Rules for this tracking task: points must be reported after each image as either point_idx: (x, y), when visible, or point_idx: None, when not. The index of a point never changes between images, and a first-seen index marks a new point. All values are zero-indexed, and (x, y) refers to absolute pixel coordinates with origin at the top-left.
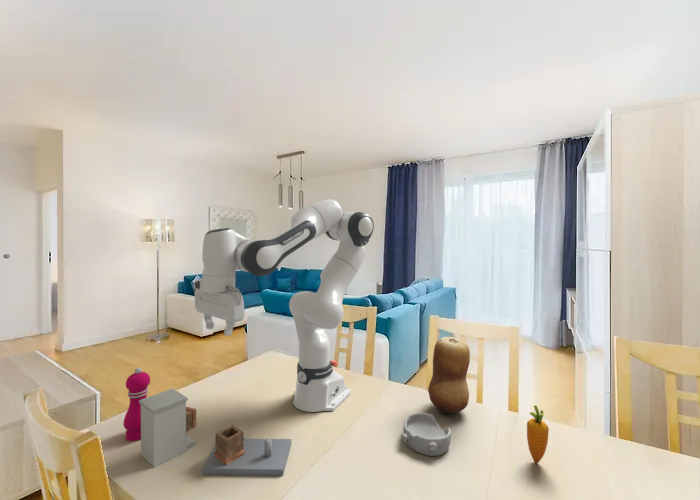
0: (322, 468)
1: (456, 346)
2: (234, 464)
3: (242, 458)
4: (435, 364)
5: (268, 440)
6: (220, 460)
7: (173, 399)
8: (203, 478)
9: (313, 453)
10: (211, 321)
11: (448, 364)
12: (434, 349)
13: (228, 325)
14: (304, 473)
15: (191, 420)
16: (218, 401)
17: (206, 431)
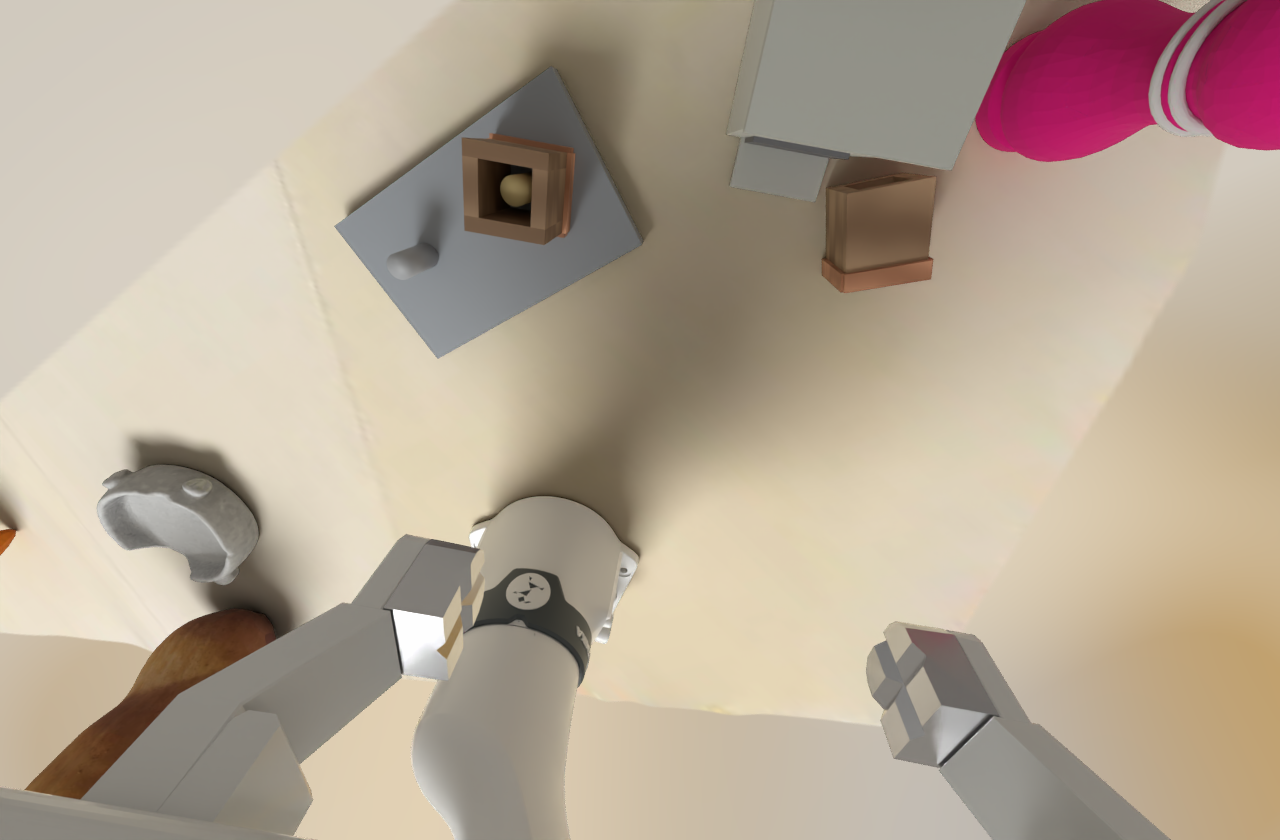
0: (292, 306)
1: None
2: None
3: None
4: None
5: (398, 268)
6: (527, 139)
7: (816, 56)
8: (535, 57)
9: (362, 348)
10: (961, 778)
11: (81, 747)
12: None
13: (213, 679)
14: (310, 263)
15: (835, 259)
16: (861, 429)
17: (751, 267)
